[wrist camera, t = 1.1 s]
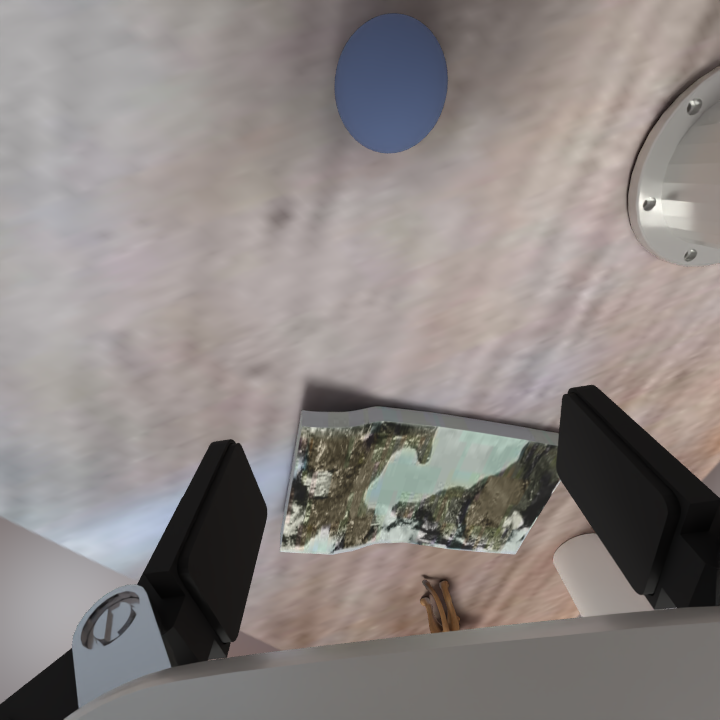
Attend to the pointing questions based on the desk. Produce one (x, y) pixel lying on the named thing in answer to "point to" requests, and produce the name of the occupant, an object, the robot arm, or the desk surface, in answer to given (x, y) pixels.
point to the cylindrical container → (596, 578)
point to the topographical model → (415, 481)
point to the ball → (391, 83)
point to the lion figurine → (440, 610)
